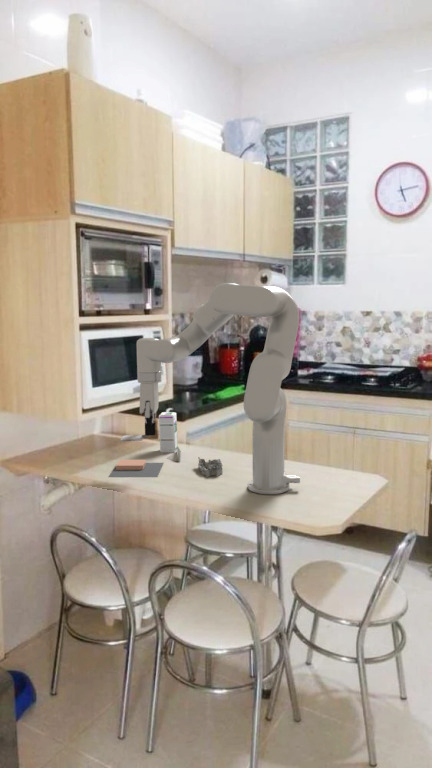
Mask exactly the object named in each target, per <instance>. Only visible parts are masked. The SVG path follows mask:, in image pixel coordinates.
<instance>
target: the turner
mask: <svg viewBox="0 0 432 768" xmlns="http://www.w3.org/2000/svg"><path fill="white" fill-rule="evenodd" d="M154 423H155V435H145V434H127V435H123V436H122V437H121V438H120V439H119V441H120V442H139V441H143V440H145V439H146V440H158V439H159V438H160V433H159V417H156V419H154Z"/></svg>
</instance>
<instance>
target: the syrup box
mask: <svg viewBox="0 0 432 768" xmlns="http://www.w3.org/2000/svg"><path fill="white" fill-rule="evenodd" d="M177 418H178V417H177V412H174V411H163V412H161V413H160V414H159V415H158V430H159V447H160V449H159V450H160V453H175V452H177V447H179V445H178V442H179V441H178V423H177V421H178V420H177Z"/></svg>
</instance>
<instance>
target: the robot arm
mask: <svg viewBox="0 0 432 768" xmlns="http://www.w3.org/2000/svg"><path fill="white" fill-rule="evenodd" d="M192 314H193V315H192V316H193V317H192V318H193V319H192V321H191V323H189V324H188V326H186V327H185V328H184V329H183V330H182V331H180V332H179V333H178V334H177V335H175V336H171V337H167V338H161V339H159V338H156V337H142V338H141V337H140V338H139V339H138V340H136V366H137V367H136V374H137V383H138V384H140V385H139V414H140V415H143V413H144V435H155V423H154V419H157V412H158V409H159V402H160V401H159V400H160V399H159V398H160V397H159V383H162V364H163V363H164V364H170V363H171V364H172V363H174V362H177V361H181V360H184V359H186V358H187V357H189V356H190V355H192V354H193V352H195V351H197V349H199V348H200V347H201V346H202V345H203V344H204V343H205V342H206V341H207V340H208V339H209V338H210V337H211V336H212V335H213V334H214V333H215V332H216V331H217V330H219V329H220V328H221V327H222V326H224V325H225V324H226V323H227V322H228V321H230V320H231V319H232V318H234V316H245V317H254V318H269V321H270V322H269V326H268V329H267V331H266V339H265V342H264V348H263V351H262V352H260V353H259V354H257V355H256V356H255V357H254V359H253V360H252V362H251V364H250V368H249V372H248V376H247V383H246V387H245V392H244V397H243V410H244V413H245V415H246V417H248V419H250V421H251V422H252V440H251V441H252V442H251V443H252V480H250V481H248V482H247V489H248V490H249V491H250V492H252V493H256V494H261V495H277V494H279V495H280V494H284V493H286V492H287V491H289V490H290V486H291V485H290V484H300V483H301V477H300V476H296V475H295V474H294V475H292V474H291V475H288V474H286V471H285V437H286V436H285V433H286V431H285V427H286V412H287V397H286V394H285V391H284V390H283V388H281V386H282V381H283V380H285V379H286V377H288V376H289V374H290V373H291V372H290V371H291V368H292V363H293V362H292V361H293V357H294V353H295V349H296V348H295V346H296V340H297V336H298V332H299V327H300V326H299V324H300V312H299V308H298V305H297V303H296V300H295V299H294V298H293V297H292V296H291V294H289V292H287V291H286V290H284V289H283V288H280V287H278V286H273V285H272V286H270V285H269V286H267V285H266V286H265V285H264V286H263V285H261V286H260V285H248V284H247V285H245V284H243V285H242V284H237V283H233V282H222V283H219V284H217V285H216V286H214V287H213V288H212V290H211V292H210V295H209V298H208V300H206V302H204V303H203V304H201V305H200V306H199V307H198V308H197V309H196V310H195V311H193V313H192Z"/></svg>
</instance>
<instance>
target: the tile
mask: <svg viewBox="0 0 432 768" xmlns="http://www.w3.org/2000/svg"><path fill="white" fill-rule="evenodd" d="M146 463H147V460H146V459H119V461H118V462H117V464H116V465H115V466H116V470H143V469H144V467H145V465H146Z"/></svg>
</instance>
